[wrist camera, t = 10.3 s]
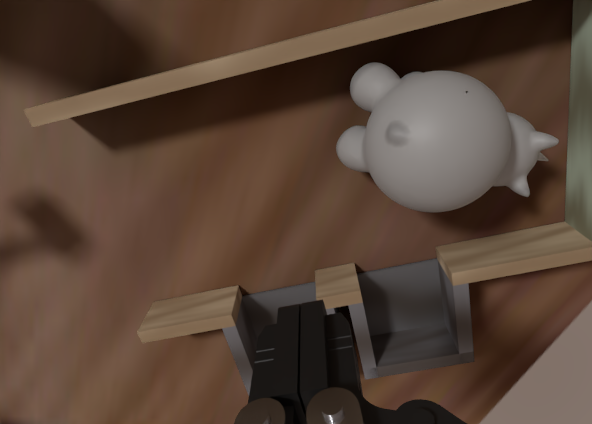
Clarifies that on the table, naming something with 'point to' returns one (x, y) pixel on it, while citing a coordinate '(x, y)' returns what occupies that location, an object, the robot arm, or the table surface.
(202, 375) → the table surface
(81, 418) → the table surface
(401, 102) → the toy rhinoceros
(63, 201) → the table surface
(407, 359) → the trap channel
